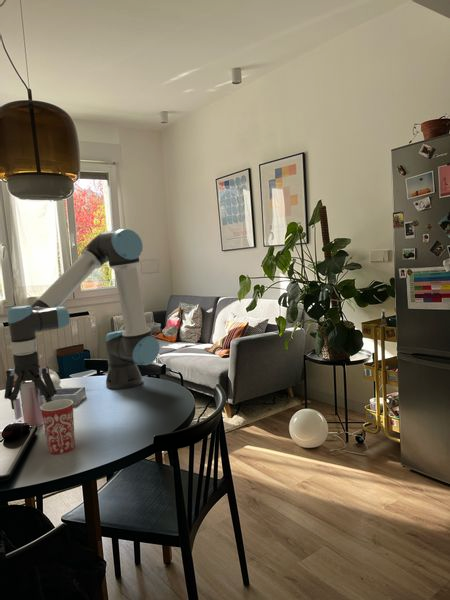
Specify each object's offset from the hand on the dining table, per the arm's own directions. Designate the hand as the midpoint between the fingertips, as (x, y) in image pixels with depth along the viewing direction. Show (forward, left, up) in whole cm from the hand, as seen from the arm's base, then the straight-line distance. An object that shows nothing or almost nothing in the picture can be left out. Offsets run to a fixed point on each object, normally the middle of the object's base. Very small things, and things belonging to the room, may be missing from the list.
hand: (33, 417), depth 153 cm
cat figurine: (+13, -39, -3) cm, 41 cm away
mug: (-18, +18, -3) cm, 26 cm away
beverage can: (0, 0, -3) cm, 3 cm away
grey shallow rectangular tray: (+3, -23, -3) cm, 23 cm away
